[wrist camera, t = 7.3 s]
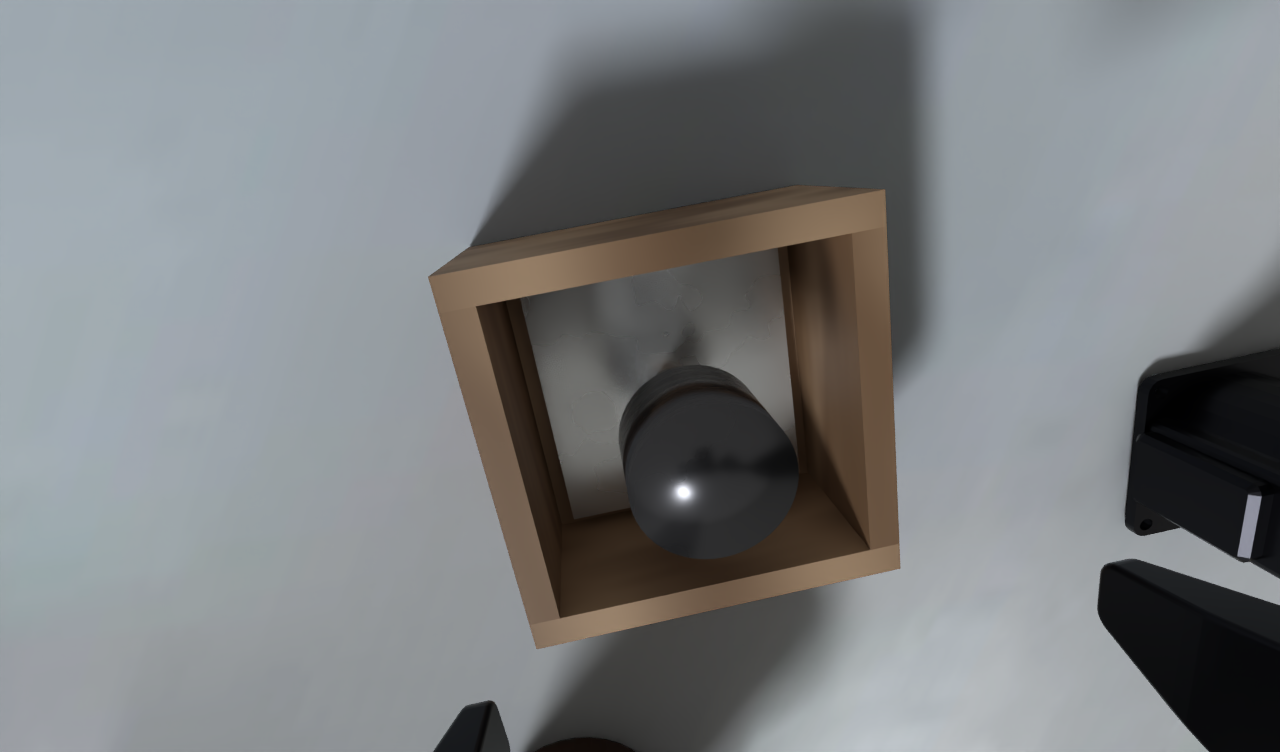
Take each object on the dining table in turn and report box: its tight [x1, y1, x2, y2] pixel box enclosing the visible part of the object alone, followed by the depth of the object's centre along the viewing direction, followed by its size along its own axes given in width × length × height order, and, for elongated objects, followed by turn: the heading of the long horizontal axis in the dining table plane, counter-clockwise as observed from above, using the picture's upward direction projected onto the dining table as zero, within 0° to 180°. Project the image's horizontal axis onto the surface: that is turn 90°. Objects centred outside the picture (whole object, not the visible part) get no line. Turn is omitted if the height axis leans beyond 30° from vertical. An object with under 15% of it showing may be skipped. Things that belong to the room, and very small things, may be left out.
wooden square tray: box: [428, 185, 900, 649], centre depth 17 cm, size 10×10×6 cm
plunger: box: [520, 248, 800, 559], centre depth 16 cm, size 7×7×7 cm
